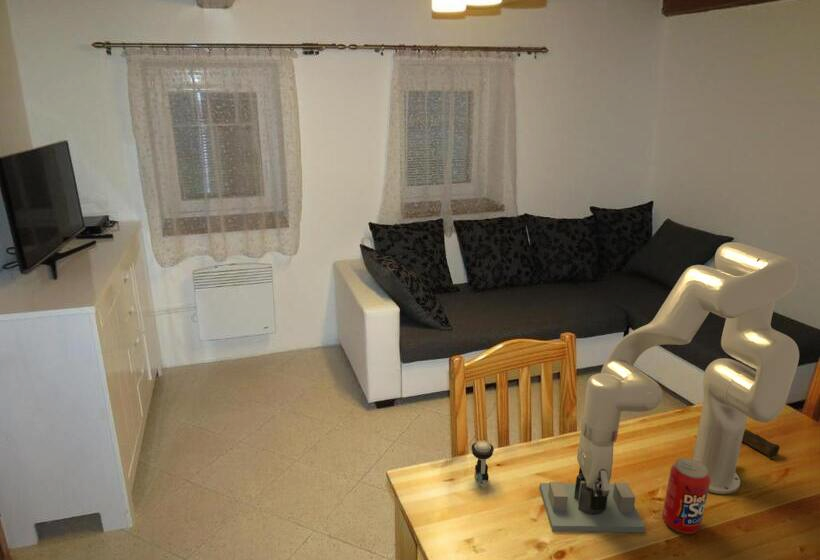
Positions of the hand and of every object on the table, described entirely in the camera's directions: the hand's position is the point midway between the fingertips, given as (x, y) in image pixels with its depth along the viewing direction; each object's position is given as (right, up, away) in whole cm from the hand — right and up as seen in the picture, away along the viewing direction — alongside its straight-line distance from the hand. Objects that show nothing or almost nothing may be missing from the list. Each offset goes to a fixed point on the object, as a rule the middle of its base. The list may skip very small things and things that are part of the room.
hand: (591, 493), depth 133 cm
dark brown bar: (+49, +4, +27) cm, 56 cm away
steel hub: (0, -3, +1) cm, 3 cm away
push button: (-24, -1, +11) cm, 26 cm away
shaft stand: (0, -4, +1) cm, 4 cm away
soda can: (+19, -6, -3) cm, 20 cm away
